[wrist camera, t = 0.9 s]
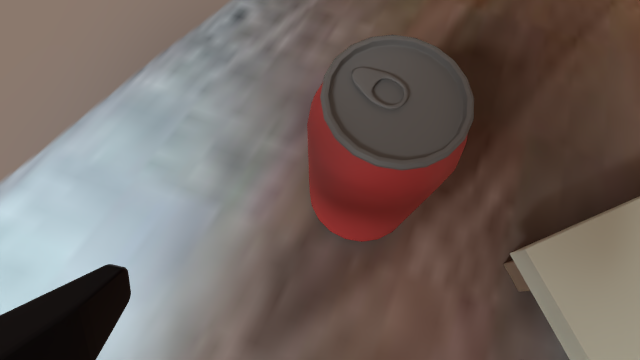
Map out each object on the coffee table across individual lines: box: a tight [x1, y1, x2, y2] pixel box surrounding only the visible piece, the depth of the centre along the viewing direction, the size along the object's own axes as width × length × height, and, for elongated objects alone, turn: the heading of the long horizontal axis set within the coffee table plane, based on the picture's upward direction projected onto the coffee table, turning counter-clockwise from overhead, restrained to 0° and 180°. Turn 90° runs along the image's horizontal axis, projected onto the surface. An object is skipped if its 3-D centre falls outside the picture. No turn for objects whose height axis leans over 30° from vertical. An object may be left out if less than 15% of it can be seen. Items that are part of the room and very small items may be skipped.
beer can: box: [307, 35, 474, 242], centre depth 19 cm, size 7×7×12 cm
